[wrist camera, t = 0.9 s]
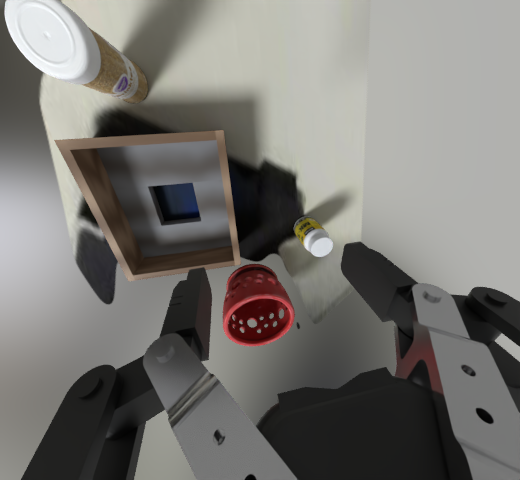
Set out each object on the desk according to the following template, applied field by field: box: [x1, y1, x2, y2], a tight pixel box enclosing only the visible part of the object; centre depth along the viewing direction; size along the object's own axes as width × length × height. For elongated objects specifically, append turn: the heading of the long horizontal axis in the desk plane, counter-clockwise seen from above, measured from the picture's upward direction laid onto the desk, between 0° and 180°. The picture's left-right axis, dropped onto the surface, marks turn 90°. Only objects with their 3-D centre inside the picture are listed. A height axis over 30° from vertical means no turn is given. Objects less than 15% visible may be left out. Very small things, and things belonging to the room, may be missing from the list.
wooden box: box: [54, 130, 241, 281], centre depth 29 cm, size 20×18×7 cm
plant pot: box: [223, 264, 295, 346], centre depth 39 cm, size 13×13×12 cm
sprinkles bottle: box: [5, 0, 148, 103], centre depth 18 cm, size 5×5×14 cm
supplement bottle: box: [294, 216, 333, 257], centre depth 36 cm, size 5×5×8 cm
